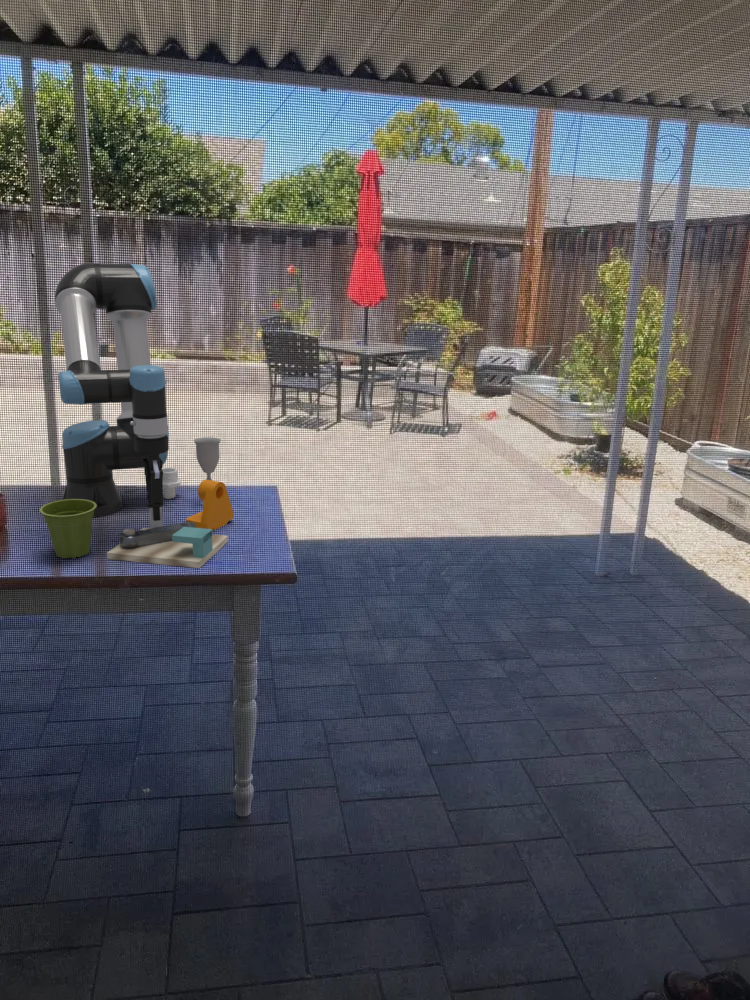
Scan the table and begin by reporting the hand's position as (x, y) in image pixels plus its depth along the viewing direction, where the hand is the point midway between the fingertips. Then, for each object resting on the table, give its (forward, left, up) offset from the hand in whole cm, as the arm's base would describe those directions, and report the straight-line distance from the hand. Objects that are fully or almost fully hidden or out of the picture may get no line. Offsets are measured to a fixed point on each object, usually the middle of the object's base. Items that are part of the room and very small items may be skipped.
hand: (156, 531), depth 176 cm
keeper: (+12, -7, -1) cm, 14 cm away
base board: (+5, -4, -3) cm, 7 cm away
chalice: (0, +32, -3) cm, 32 cm away
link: (+2, -2, -1) cm, 3 cm away
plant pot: (-15, -11, -3) cm, 19 cm away
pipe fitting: (-13, +34, -3) cm, 36 cm away
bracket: (+7, +15, -3) cm, 17 cm away
